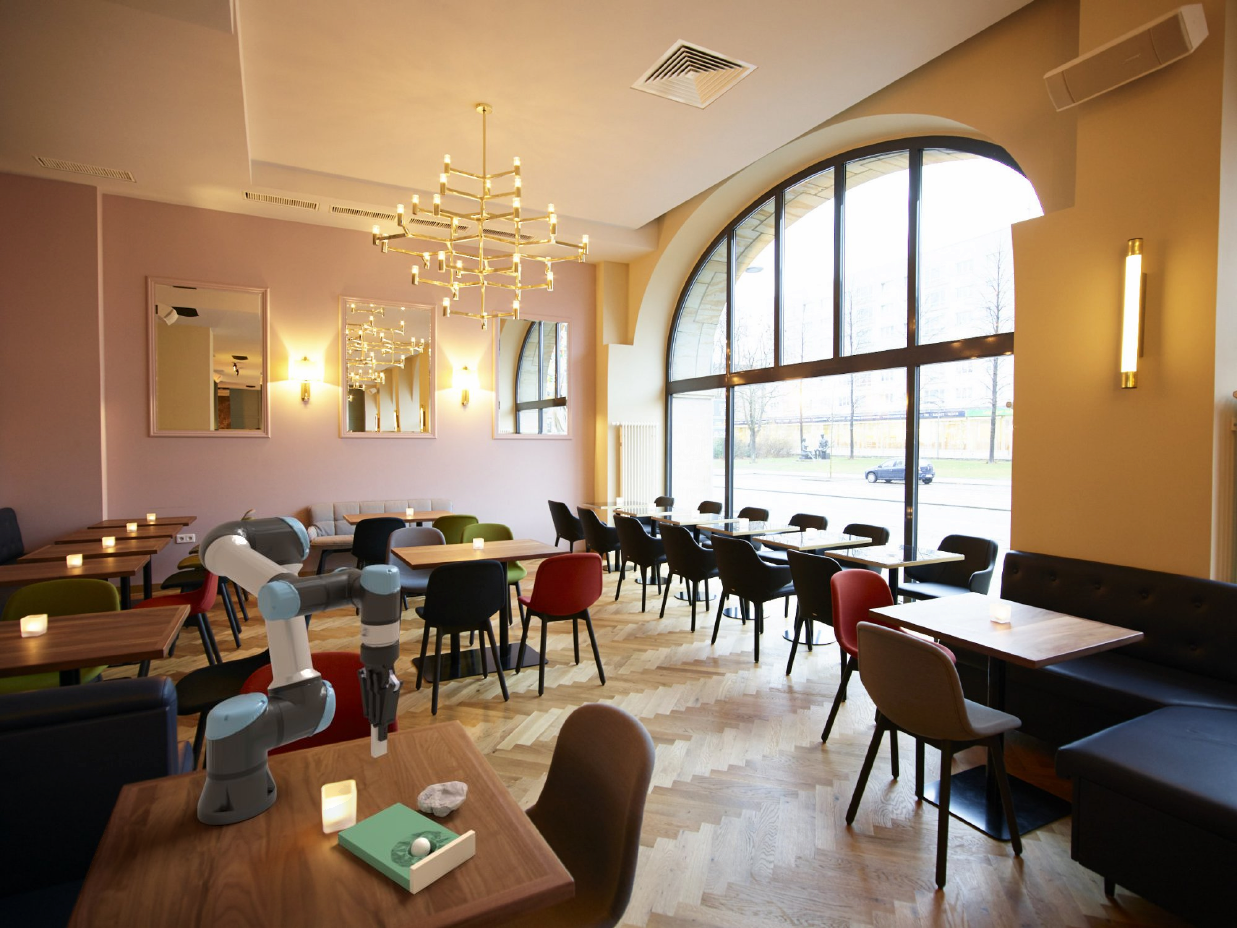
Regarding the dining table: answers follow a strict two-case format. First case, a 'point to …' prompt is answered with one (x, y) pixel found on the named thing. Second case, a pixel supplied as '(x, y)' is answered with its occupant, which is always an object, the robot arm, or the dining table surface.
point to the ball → (420, 847)
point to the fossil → (442, 797)
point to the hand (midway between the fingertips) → (378, 754)
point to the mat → (407, 846)
